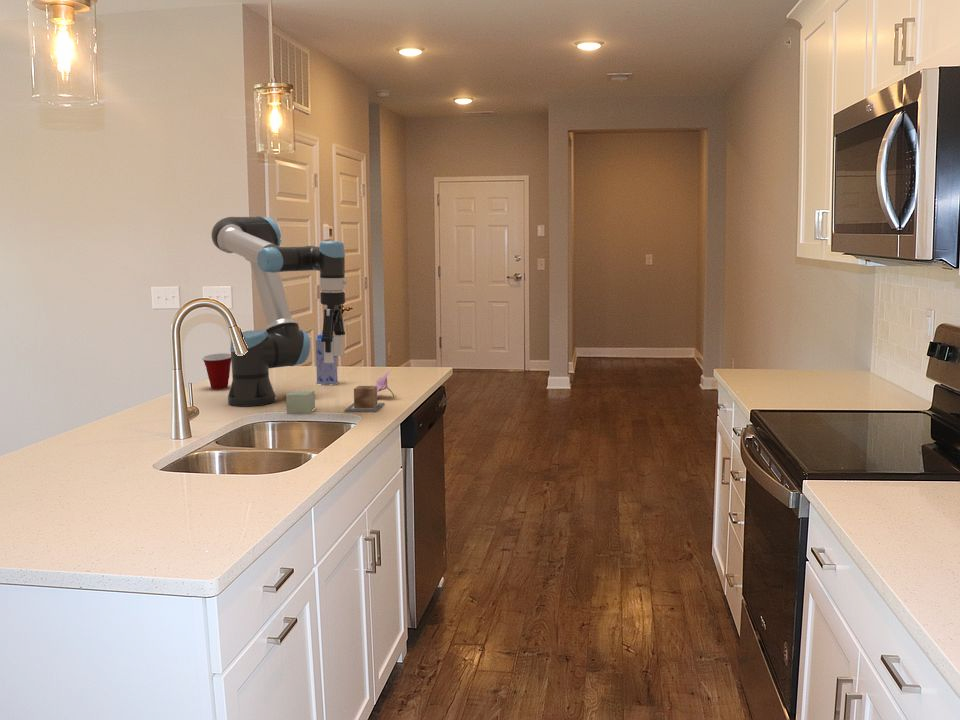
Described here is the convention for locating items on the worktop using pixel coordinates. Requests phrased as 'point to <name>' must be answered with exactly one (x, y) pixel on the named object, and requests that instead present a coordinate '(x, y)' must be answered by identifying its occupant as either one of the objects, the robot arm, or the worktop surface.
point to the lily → (383, 383)
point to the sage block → (300, 402)
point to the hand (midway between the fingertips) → (333, 359)
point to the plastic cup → (218, 369)
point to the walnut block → (365, 396)
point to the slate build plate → (352, 409)
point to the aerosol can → (325, 364)
